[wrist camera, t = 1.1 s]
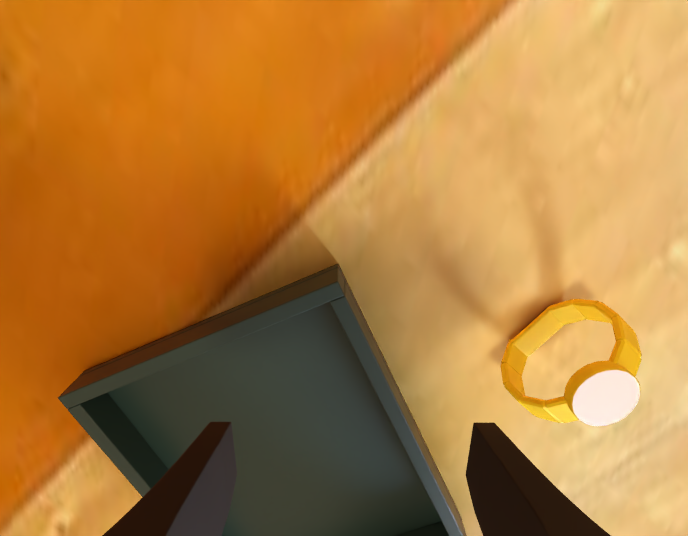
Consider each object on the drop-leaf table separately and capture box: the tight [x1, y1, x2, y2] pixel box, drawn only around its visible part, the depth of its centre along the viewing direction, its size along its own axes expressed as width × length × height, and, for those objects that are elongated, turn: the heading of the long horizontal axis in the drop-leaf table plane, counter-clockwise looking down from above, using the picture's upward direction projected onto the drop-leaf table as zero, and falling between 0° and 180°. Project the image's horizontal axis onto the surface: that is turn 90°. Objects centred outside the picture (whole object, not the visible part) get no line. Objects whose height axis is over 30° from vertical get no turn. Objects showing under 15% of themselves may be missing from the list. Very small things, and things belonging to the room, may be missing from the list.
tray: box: [58, 264, 466, 536], centre depth 24 cm, size 20×16×2 cm
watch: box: [501, 299, 642, 426], centre depth 19 cm, size 6×3×6 cm, turn 137°
